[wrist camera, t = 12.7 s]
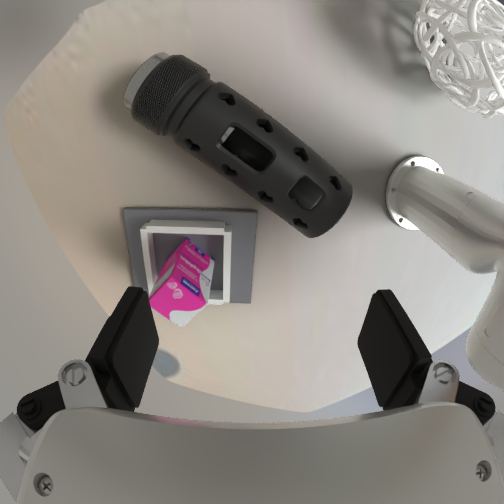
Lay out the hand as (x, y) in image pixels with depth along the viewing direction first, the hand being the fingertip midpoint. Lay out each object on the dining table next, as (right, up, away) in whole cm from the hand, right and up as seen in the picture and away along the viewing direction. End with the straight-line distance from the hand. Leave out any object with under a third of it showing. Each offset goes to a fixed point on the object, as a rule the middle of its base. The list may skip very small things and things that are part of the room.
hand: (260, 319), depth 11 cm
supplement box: (-10, +2, +31) cm, 33 cm away
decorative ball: (+30, +35, +17) cm, 49 cm away
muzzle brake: (-2, +18, +24) cm, 30 cm away
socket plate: (-10, +2, +32) cm, 34 cm away
